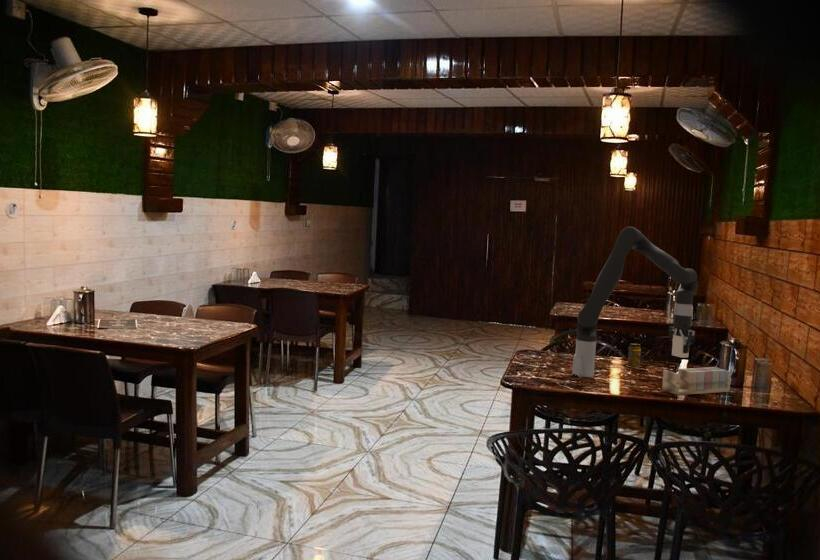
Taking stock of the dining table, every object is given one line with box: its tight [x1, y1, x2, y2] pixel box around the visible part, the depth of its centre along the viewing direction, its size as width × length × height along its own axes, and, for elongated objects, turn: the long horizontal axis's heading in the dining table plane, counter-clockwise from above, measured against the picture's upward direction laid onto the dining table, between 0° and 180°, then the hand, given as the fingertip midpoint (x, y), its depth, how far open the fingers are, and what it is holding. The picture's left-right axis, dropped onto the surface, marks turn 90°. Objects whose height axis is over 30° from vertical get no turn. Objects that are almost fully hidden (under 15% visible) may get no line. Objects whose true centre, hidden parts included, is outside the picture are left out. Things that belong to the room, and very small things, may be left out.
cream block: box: [671, 335, 690, 359], centre depth 287 cm, size 4×6×9 cm
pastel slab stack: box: [661, 366, 732, 396], centre depth 292 cm, size 9×30×10 cm, turn 111°
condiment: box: [627, 342, 642, 367], centre depth 340 cm, size 7×8×12 cm
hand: (680, 351), depth 287 cm, fingers closed on cream block, 5 cm apart
